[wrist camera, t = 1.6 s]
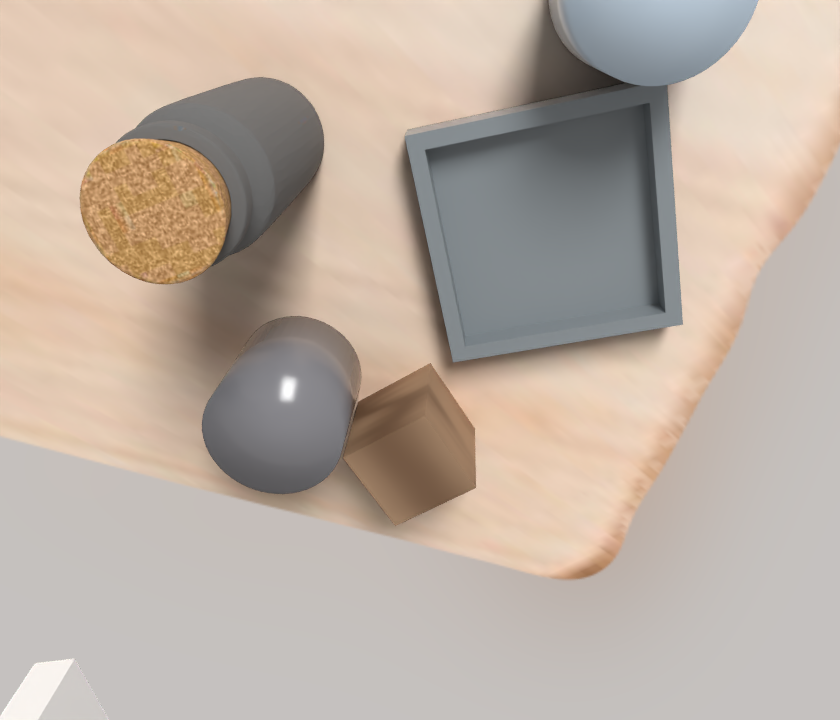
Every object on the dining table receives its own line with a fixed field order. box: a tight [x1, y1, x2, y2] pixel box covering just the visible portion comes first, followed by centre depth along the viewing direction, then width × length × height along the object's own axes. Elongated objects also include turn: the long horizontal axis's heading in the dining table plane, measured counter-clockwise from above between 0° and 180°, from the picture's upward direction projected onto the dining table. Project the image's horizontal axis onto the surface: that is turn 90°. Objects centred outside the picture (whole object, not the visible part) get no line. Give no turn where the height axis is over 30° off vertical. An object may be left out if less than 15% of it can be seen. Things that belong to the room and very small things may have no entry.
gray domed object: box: [202, 316, 361, 494], centre depth 39 cm, size 7×7×7 cm
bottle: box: [80, 77, 324, 284], centre depth 30 cm, size 6×6×15 cm
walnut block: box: [343, 363, 476, 526], centre depth 41 cm, size 5×5×6 cm
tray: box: [405, 83, 683, 362], centre depth 37 cm, size 12×12×2 cm
